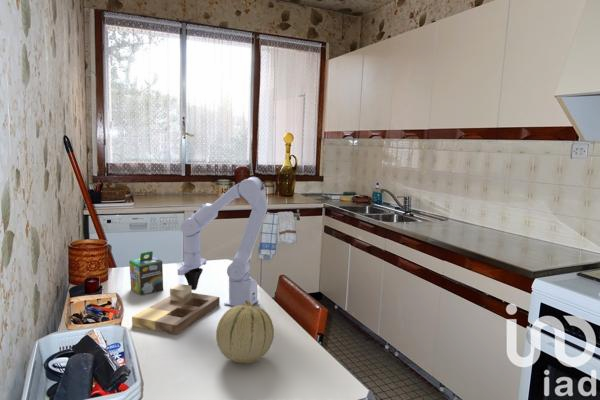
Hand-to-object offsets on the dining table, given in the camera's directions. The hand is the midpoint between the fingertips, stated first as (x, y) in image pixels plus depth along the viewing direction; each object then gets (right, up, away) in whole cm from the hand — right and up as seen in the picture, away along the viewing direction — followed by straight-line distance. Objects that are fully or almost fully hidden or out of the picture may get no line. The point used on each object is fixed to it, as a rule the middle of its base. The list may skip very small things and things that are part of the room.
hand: (193, 289), depth 150 cm
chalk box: (-20, -3, +10) cm, 22 cm away
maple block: (-2, -2, -6) cm, 7 cm away
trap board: (-1, -6, -13) cm, 14 cm away
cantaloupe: (+24, -10, -40) cm, 47 cm away
